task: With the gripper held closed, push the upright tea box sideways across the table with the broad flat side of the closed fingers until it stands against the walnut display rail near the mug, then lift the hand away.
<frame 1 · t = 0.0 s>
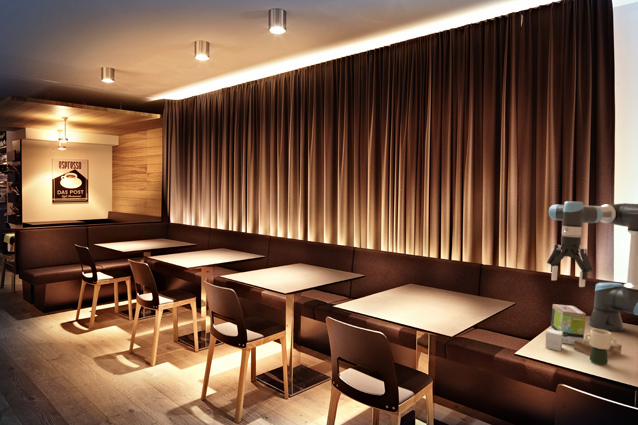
hand: (567, 283, 196), 28 cm above the table, tool pointing down, fingers open, 13 cm apart
skincare box: (553, 348, 193), on the table
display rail: (599, 351, 192), on the table
tea box: (566, 339, 206), on the table
character mug: (598, 363, 178), on the table
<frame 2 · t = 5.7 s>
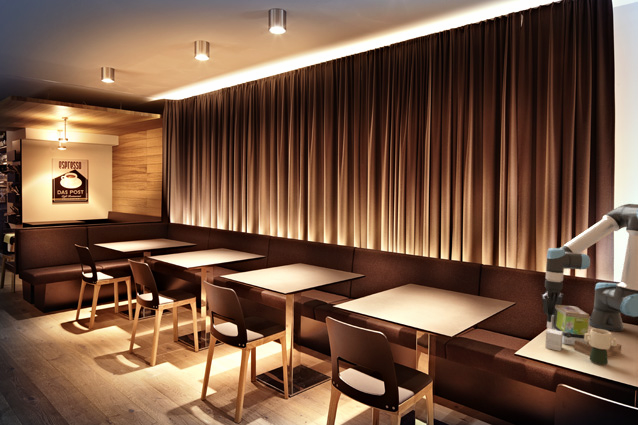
hand: (550, 328, 214), 2 cm above the table, tool pointing down, fingers closed
tea box: (568, 340, 205), on the table
everything else where it was.
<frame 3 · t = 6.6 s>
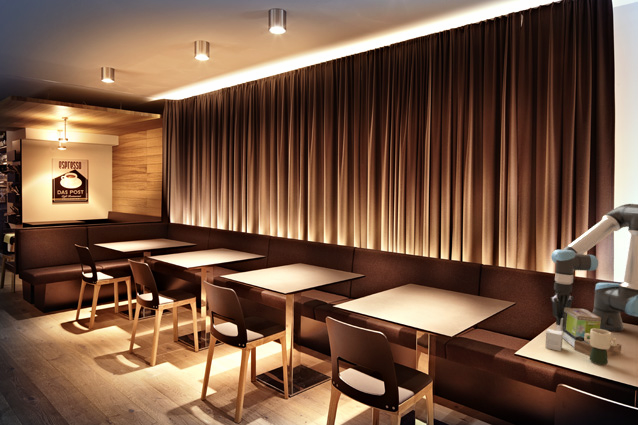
hand: (559, 331, 209), 2 cm above the table, tool pointing down, fingers closed
tea box: (579, 344, 200), on the table, touching gripper
everything else where it was.
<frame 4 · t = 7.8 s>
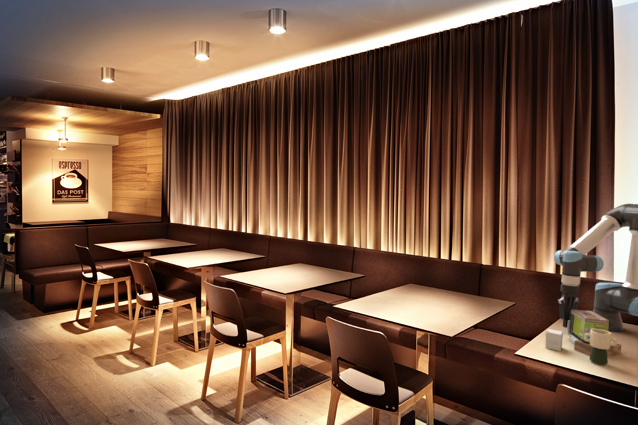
hand: (566, 333, 206), 2 cm above the table, tool pointing down, fingers closed
tea box: (586, 346, 197), on the table, touching gripper
everything else where it was.
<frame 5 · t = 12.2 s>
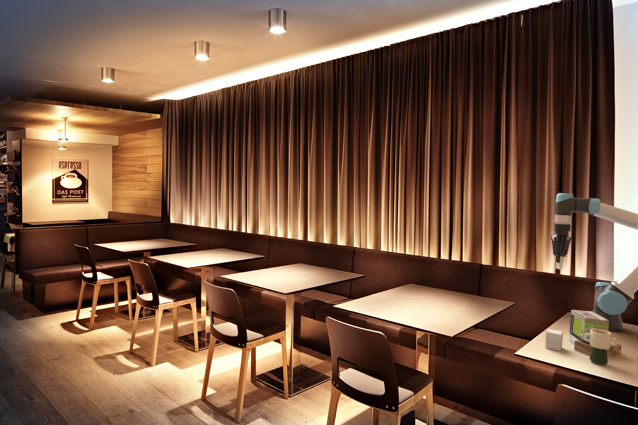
hand: (559, 268, 227), 29 cm above the table, tool pointing down, fingers closed
tea box: (586, 347, 197), on the table
everything else where it was.
at the end: tea box inside the target area (2.4 cm from its centre), on the table; tea box tilted 0° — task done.
